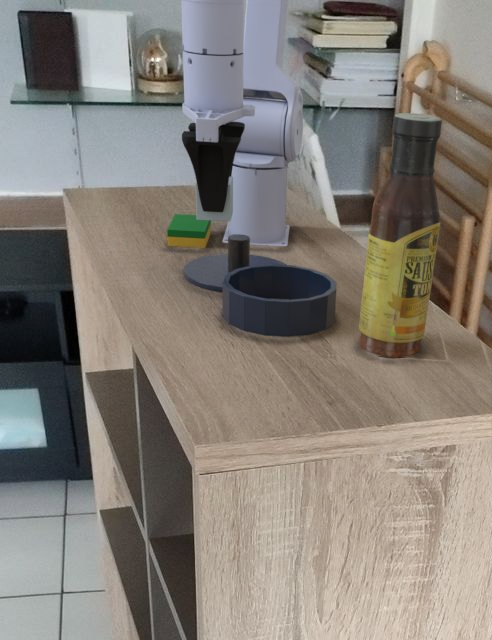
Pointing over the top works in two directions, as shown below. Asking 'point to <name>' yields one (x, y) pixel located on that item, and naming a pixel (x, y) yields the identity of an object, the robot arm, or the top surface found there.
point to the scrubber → (188, 231)
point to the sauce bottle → (402, 242)
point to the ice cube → (217, 216)
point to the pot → (279, 300)
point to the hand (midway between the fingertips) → (215, 206)
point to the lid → (224, 263)
